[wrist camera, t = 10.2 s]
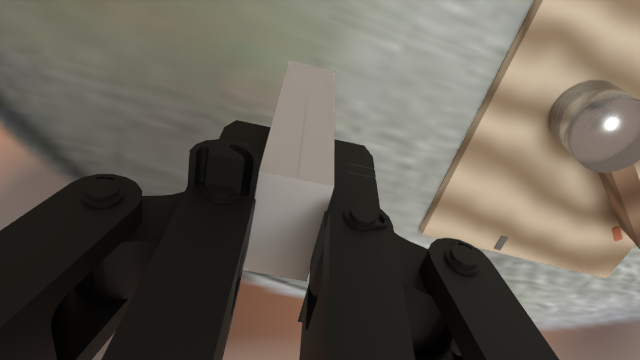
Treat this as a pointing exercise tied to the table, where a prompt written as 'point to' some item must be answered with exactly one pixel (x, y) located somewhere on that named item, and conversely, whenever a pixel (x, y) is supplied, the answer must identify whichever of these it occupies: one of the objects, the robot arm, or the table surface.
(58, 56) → the table surface
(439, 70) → the table surface
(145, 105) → the table surface
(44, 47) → the table surface
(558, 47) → the dial board
